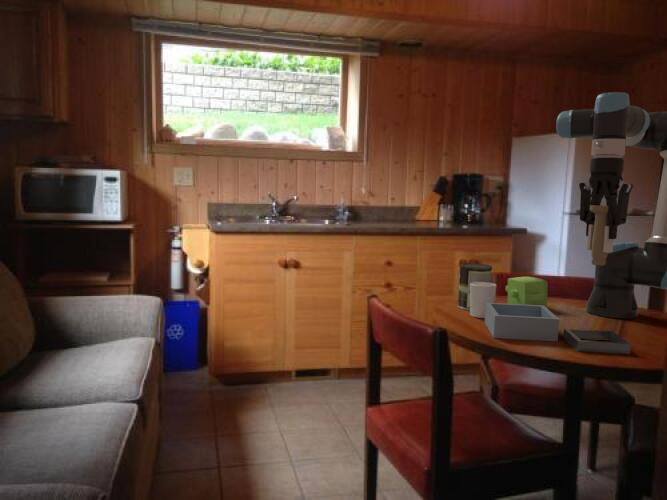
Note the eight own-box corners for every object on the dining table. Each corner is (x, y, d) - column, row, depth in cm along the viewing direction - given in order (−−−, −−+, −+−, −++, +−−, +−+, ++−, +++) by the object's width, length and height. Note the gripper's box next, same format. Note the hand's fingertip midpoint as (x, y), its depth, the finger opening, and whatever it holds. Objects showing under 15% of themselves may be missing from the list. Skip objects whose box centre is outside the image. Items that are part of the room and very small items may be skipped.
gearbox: (496, 302, 199) (496, 275, 197) (521, 300, 201) (521, 273, 200) (525, 313, 181) (526, 284, 180) (552, 310, 184) (553, 281, 182)
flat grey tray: (611, 340, 151) (612, 331, 151) (629, 354, 139) (630, 344, 139) (563, 337, 152) (563, 328, 152) (577, 351, 140) (578, 341, 140)
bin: (542, 325, 165) (543, 305, 164) (557, 341, 148) (559, 319, 148) (484, 322, 167) (485, 302, 166) (493, 337, 150) (494, 315, 150)
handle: (615, 266, 142) (621, 206, 141) (595, 266, 140) (600, 206, 138) (601, 263, 147) (605, 205, 145) (581, 263, 145) (586, 205, 143)
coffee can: (451, 307, 185) (454, 265, 184) (466, 302, 193) (468, 262, 192) (481, 313, 179) (483, 269, 177) (494, 307, 187) (497, 265, 185)
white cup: (491, 313, 179) (493, 282, 177) (496, 319, 171) (498, 286, 170) (466, 312, 179) (468, 281, 178) (470, 318, 172) (471, 285, 170)
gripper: (568, 157, 146) (561, 247, 149) (629, 155, 131) (621, 255, 134) (587, 158, 149) (580, 246, 152) (649, 157, 135) (640, 254, 138)
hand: (599, 250), depth 143 cm, fingers closed on handle, 4 cm apart
